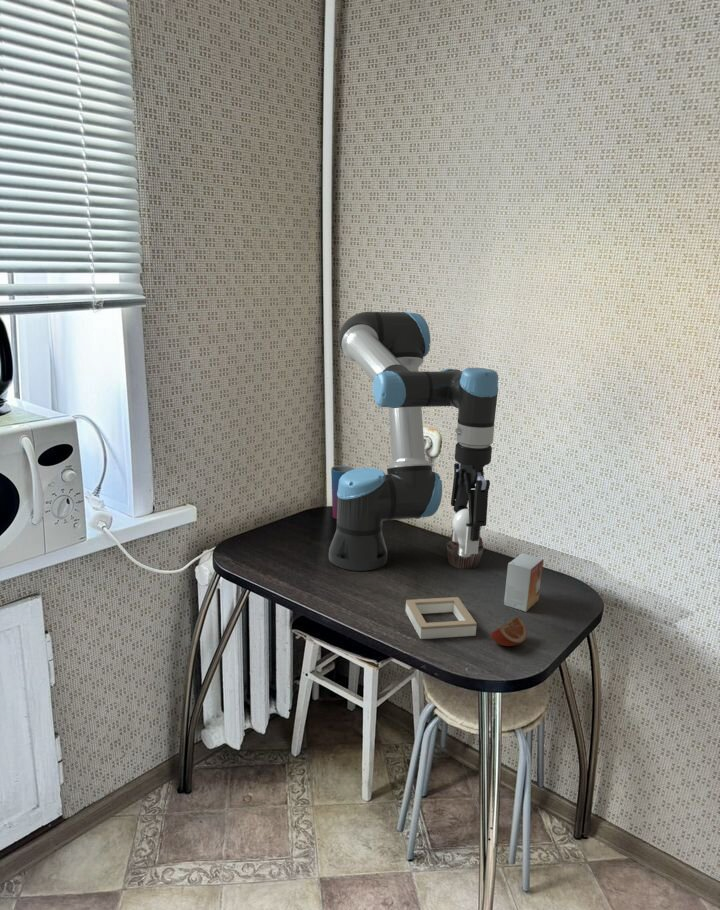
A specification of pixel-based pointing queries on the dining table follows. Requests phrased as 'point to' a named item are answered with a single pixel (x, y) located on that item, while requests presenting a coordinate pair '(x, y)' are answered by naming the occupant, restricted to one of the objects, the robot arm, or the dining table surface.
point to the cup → (336, 474)
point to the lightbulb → (461, 529)
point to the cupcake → (460, 561)
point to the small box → (523, 582)
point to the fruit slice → (510, 633)
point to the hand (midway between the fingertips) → (464, 546)
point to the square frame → (440, 629)
